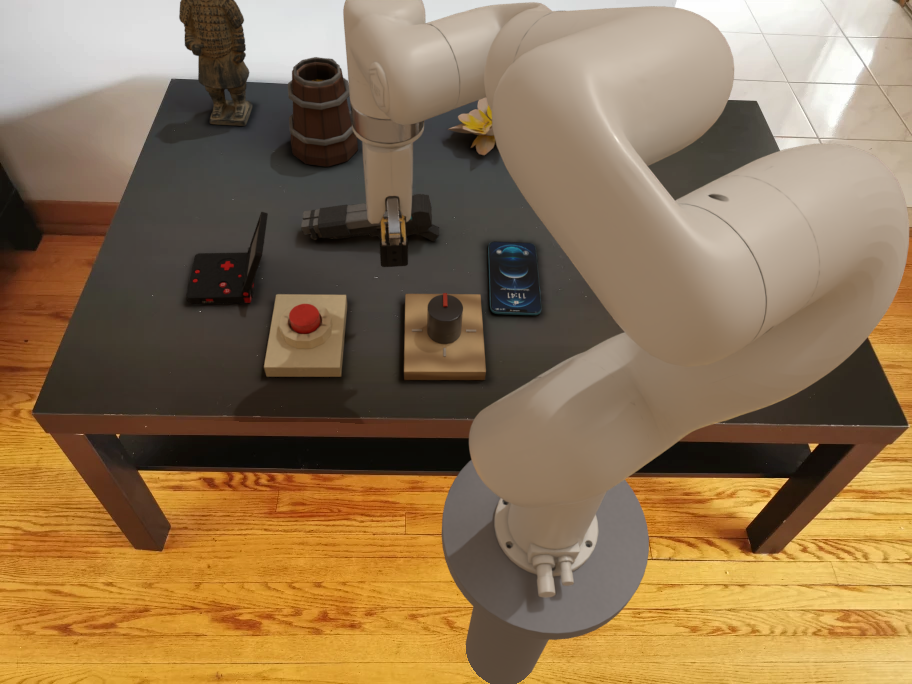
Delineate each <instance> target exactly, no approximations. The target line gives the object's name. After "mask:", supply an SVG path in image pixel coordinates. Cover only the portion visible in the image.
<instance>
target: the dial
mask: <svg viewBox="0 0 912 684" xmlns="http://www.w3.org/2000/svg"><path fill="white" fill-rule="evenodd" d="M442 294H443V295H438V296H435V297H434V298H432V299H431V300H430V302H429V303H428V308H427V334H428V336H429V337H430V338H431V339H432V340H433V341H434V342H437V343H440V344H449V343H452V342H454V341H456V340H457V339H458V338H459V337H460V335H461V328H462V317H463V305H462V303H461V301H460V300H459V299H458V298H456V297H454V296H452V295H447V294H448V293H447V292H443V293H442Z"/></svg>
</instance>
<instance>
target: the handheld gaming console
mask: <svg viewBox="0 0 912 684" xmlns="http://www.w3.org/2000/svg"><path fill="white" fill-rule="evenodd" d="M268 216H269V215H268V212H265V211H260V214H259V217H258V220H257V223H256V226H255V229H254V232H253V235H252V237H251V241H250V244H249V247H248V248H247V252H202V253H201V252H200V253H199V252H198V253H196V254H194V257H193V262H192V266H191V271H190V276H189V281H188V284H187V285H188V286H187V290H186V293H185V294H186V295H185V296H186V299H187V301H188V303H189V305H226V304H227V305H228V304H229V305H231V304H248V303H251V302H252V299H253V297H254V296H253V295H254V291H255V282H256V276H257V275H256V274H257V271H258V268H259V265H260V263H261V260H262V256H263V253H264V247H265V246H264V245H265V237H266V231H267V222H268Z"/></svg>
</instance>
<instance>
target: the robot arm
mask: <svg viewBox="0 0 912 684" xmlns="http://www.w3.org/2000/svg"><path fill="white" fill-rule="evenodd" d="M342 10H343V11H342V14H343V16H342V17H343V31H344V42H345V43H344V44H345V55H346V67H347V80H348V83H349V94H350V96H349V103H350V104H349V105H350V111H351V117H352V129H353V132H354V134H355V135H356V137H357V140H360V141H361V143H362V146H361V147H362V162H363V163H362V164H363V176H364V178H363V179H364V190H365V203H366V205H367V217H368V221H369V222H370V223H371V224H373V223H375V224H379V223H380V222H381V238H380V239H379V238H378V239H379V241H378V242H379V259H380V260H379V261H380V267H382V268H393V267H394V268H396V267H397V268H398V267H407V266H408V265H409V238H408V237H406V229H405V221H406V222H408V221H409V220H410V218H411V207H412V195H413V181H414V143H415V142H416V141H417V140H418V139H420V137H422V136H423V133H424V129H425V121H426V120H429V119H432V118H435V117H438V116H441V115H443V114H445V113H449V112H450V111H453V110H456V109H458V108H462V107H463V106H466V105H468V104H471V103H472V104H473V103H474V102H476V101H477V102H478V101H479V100H480V99H483V98H486V97H487V101H488V104H489V107H490V109H491V111H492V127H493V132H494V136H495V140H496V143H495V145H496V148H497V151H498V152H499V155H500V158H501V159H502V162H503V164H504V166H505V168H506V170H507V172H508V174H509V176H510V177H511V179H512V180H513V182H514V184H515V185H516V187H517V188H518V190H519V192H520V194H521V195H522V197H523V198H524V199H525V201H526V202H527V203H528V205H529V206H530V208H531V209H532V210H533V212H534V214H535V215H536V216H537V217H538V219H539V220H540V221H541V223H542V224H543V226H544V227H545V228H546V229H547V231H548V233H549V234H550V235H551V236H552V238H553V239H554V240H555V242H556V243H557V244H558V245H559V247H560V249H561V250H562V251H563V252H564V254H565V255H566V257H568V259H569V260H570V262H571V263H572V265H573V266H574V267H575V268H576V270H577V271H578V273H580V276H581V277H582V279H584V282H586V284H587V285H588V287H589V288H590V289H591V291H592V292H593V294H594V295H595V296H596V297H597V299H598V300H599V303H601V305H602V306H603V308H604V309H605V310H606V311H607V312H608V314H609V315H610V317H611V318H612V319H613V320H614V322H615V323H616V324H617V325H618V326H619V328H620V329H621V330H622V331H623V332H621V333H619V334H616V335H614V336H611V337H610V338H606V339H605V340H603V341H601V342H599V343H598V344H596V345H594V346H592V347H590V348H588V349H587V350H585V351H583V352H580V353H577V354H575V355H573V356H570V357H569V358H567V359H565V360H563V361H561V362H559V363H558V364H556V365H554V366H553V367H552V368H549V369H548V370H546V371H544V372H542V373H541V374H539V375H537V376H536V377H534V378H533V379H531V380H529V381H528V382H527V383H524V384H523V385H521V386H519V387H518V388H516V389H514V390H513V391H511V392H509V393H508V394H506V395H504V396H503V397H501V398H499V399H498V400H496V401H494V402H492V403H490V404H489V405H487V406H486V407H484V408H483V409H482V410H480V411H479V412H478V413H477V414H476V416H475V417H474V419H473V420H472V422H471V425H470V427H469V433H468V450H469V456H470V460H472V462H473V465H474V467H475V470H476V472H477V473H478V475H479V477H480V478H481V480H482V481H483V482H484V484H485V485H486V486H487V487H488V488H489V489H490V490H491V491H492V492H493V493H495V494H496V495H497V496H499V497H500V500H499V503H498V505H497V508H496V512H495V519H494V527H495V533H496V537H497V540H498V542H499V545H500V547H501V548H502V550H503V551H504V553H505V554H506V555H507V557H508V558H509V559H510V560H511V561H512V562H513V563H515V564H516V565H517V566H519V567H520V568H522V569H524V570H526V571H527V572H530V573H533V574H536V575H537V577H538V579H537V586H538V596H540V597H545V598H547V597H552V596H555V595H556V594H555V585H554V578H553V576H561V581H562V585H564V586H570V585H573V584H574V580H573V573H572V572H573V571H575V570H577V569H578V568H579V567H581V566H582V565H583V564H584V563H585V562H586V561H587V560H588V558H589V557H590V556H591V554H592V552H593V550H594V548H595V545H596V543H597V538H598V521H597V517H596V512H597V510H598V508H599V506H600V504H601V502H602V500H603V498H604V496H605V494H606V492H607V491H608V490H609V489H611V488H613V487H614V486H616V485H617V484H619V483H620V482H622V481H623V480H624V479H625V480H626V479H628V478H629V477H630V476H632V475H633V474H635V473H636V472H638V471H639V470H641V469H642V468H643V467H644V466H646V465H647V464H649V463H650V462H652V461H653V460H654V459H656V458H657V457H659V456H661V455H662V454H663V453H664V452H666V451H667V450H669V449H670V448H671V447H673V446H674V445H675V444H677V443H678V442H680V441H681V440H683V438H685V437H686V436H688V435H689V434H691V433H692V432H694V431H695V432H696V431H698V430H699V429H702V428H705V427H708V426H712V425H714V424H719V423H722V422H726V421H729V420H731V419H732V420H733V419H734V418H737V417H739V416H740V417H741V416H743V415H746V414H749V413H753V412H755V411H758V410H762V409H764V408H767V407H770V406H772V405H774V404H775V405H776V404H777V403H779V402H782V401H784V400H786V399H789V398H790V397H792V396H794V395H796V394H798V393H800V392H801V391H804V390H805V389H807V388H808V387H810V386H812V385H813V384H815V383H817V382H818V381H820V380H821V379H823V378H824V377H825V376H827V375H828V374H830V373H832V371H834V370H835V369H836V368H838V367H839V366H840V365H842V364H843V363H844V362H845V361H846V360H847V359H849V358H850V357H851V355H852V354H854V353H855V352H856V351H857V350H858V349H859V348H860V347H861V345H862V344H863V343H864V342H865V341H866V340H867V338H869V336H870V335H871V334H872V332H874V330H875V329H876V328H877V326H878V325H879V324H880V322H881V321H882V319H883V318H884V316H885V315H886V313H887V312H888V310H889V308H890V306H891V305H892V304H893V301H894V299H895V296H896V295H897V293H898V290H899V288H900V285H901V282H902V280H903V276H904V272H905V269H906V266H907V259H908V252H909V247H910V219H909V218H910V217H909V212H908V206H907V202H906V199H905V195H904V192H903V188H902V187H901V184H900V182H899V180H898V179H897V177H896V175H895V174H894V172H893V171H892V170H891V169H890V168H889V167H888V165H887V164H885V162H884V161H882V160H881V159H880V158H879V157H878V156H876V155H874V154H873V153H870V152H869V151H866V150H865V149H861V148H858V147H855V146H852V145H849V144H843V143H824V142H823V143H821V142H819V143H810V144H804V145H799V146H794V147H789V148H788V147H787V148H784V149H781V150H778V151H775V152H773V153H770V154H768V155H764V156H762V157H760V158H757V159H754V160H753V161H750V162H749V163H747V164H746V163H745V165H742V166H740V167H739V168H736V169H735V170H732V171H731V172H729V173H726V174H725V175H722V176H720V177H718V178H716V179H714V180H712V181H710V182H708V183H706V184H705V185H703V186H700V187H698V188H696V189H695V190H693V191H690V192H689V193H687V194H685V195H683V196H681V197H679V198H676V200H675V198H673V196H672V195H671V194H670V192H669V191H668V190H667V189H666V187H664V185H663V183H662V182H661V181H660V180H659V179H658V178H657V176H656V175H655V174H654V172H653V171H652V170H651V169H650V167H649V166H651V165H654V164H655V163H657V162H660V161H662V160H664V159H667V158H668V157H670V156H672V155H675V154H677V153H678V152H680V151H682V150H683V149H685V148H687V147H688V146H690V145H692V144H693V143H695V142H696V141H698V140H699V139H700V138H701V137H703V136H704V135H705V134H706V133H707V132H708V131H709V130H710V129H711V128H712V127H713V126H714V125H715V124H716V122H717V121H718V119H719V118H720V117H721V115H722V114H723V112H724V110H725V108H726V105H727V104H728V101H729V99H730V98H731V93H732V91H733V87H734V82H735V81H734V80H735V61H734V56H733V52H732V50H731V47H730V45H729V42H728V41H727V39H726V37H725V35H724V34H723V33H722V31H721V30H720V29H719V28H718V27H717V26H716V25H715V24H714V23H713V22H712V21H710V20H709V19H708V18H705V17H704V16H702V15H701V14H698V13H696V12H693V11H691V10H688V9H684V8H679V7H676V6H675V7H674V6H665V5H663V6H661V5H659V6H658V5H657V6H655V5H653V6H652V5H648V6H646V5H645V6H628V7H608V8H606V7H605V8H590V9H576V10H552V9H550V8H549V6H546V4H544V3H542V2H538V1H537V2H535V1H530V2H514V3H498V4H491V5H485V6H479V7H474V8H472V9H467V10H464V11H460V12H457V13H453V14H450V15H447V16H444V17H441V18H439V19H434V20H432V21H428V22H426V16H427V15H426V8H425V4H424V1H423V0H345V1H344V4H343V9H342ZM385 211H387V214H388V217H384V213H385ZM399 211H401V216H400V217H399ZM385 223H388V230H389V235H386V227H385ZM400 227H401V234H400ZM504 503H506V504H507V505H504ZM586 545H588V546H589V547H587V546H586ZM507 546H510V547H511V548H507ZM552 569H553V571H552Z"/></svg>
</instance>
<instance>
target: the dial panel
mask: <svg viewBox="0 0 912 684" xmlns="http://www.w3.org/2000/svg"><path fill="white" fill-rule="evenodd" d="M438 295H443V293H405V295H404V349H403V381H485V380H486V374H487V367H486V354H485V353H486V352H485V338H484V324H483V323H484V322H483V312H482V311H483V310H482V297H481V294H480V293H479V294H473V293H465V294H464V293H447V295H452V296H454V297H456V298H458V299H459V300H460V301H461V303H462V305H463V317H462V328H461V335H460V337H459V338H458V339H457V340H456V341H454V342H452V343H449V344H440V343H437V342H434V341H433V340H432V339H431V338H430V337H429V336H428V334H427V308H428V303H429V302H430V300H431V299H432V298H434V297H435V296H438Z"/></svg>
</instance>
